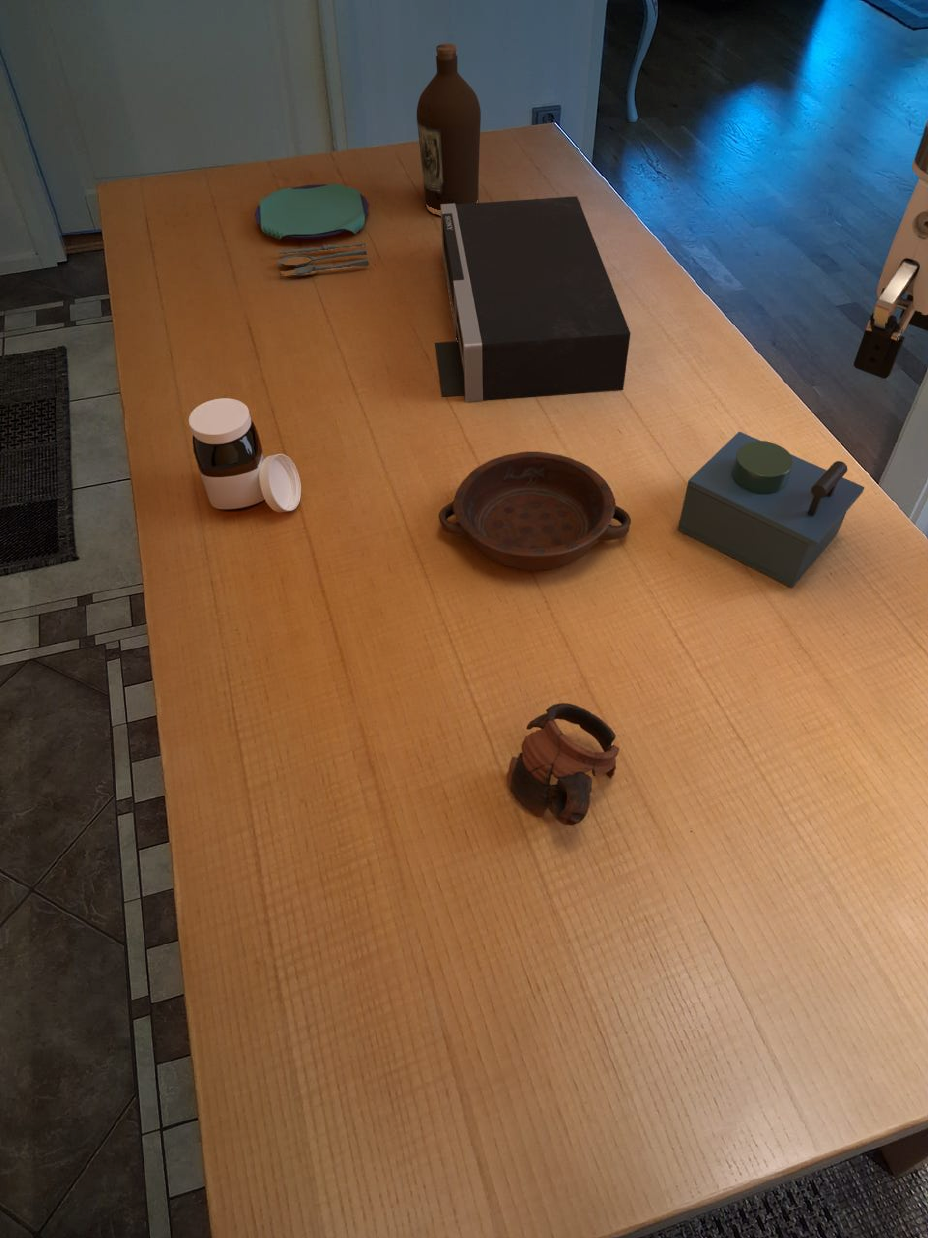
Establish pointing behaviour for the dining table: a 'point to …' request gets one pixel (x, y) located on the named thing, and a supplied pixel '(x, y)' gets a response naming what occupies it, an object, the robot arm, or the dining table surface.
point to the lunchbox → (749, 538)
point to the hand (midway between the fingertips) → (893, 347)
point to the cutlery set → (314, 219)
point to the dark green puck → (762, 467)
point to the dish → (534, 510)
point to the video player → (528, 303)
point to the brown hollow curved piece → (560, 764)
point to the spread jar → (239, 460)
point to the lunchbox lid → (783, 494)
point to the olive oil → (449, 134)
